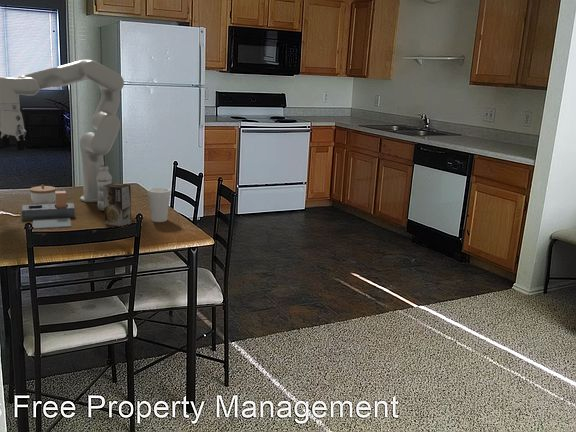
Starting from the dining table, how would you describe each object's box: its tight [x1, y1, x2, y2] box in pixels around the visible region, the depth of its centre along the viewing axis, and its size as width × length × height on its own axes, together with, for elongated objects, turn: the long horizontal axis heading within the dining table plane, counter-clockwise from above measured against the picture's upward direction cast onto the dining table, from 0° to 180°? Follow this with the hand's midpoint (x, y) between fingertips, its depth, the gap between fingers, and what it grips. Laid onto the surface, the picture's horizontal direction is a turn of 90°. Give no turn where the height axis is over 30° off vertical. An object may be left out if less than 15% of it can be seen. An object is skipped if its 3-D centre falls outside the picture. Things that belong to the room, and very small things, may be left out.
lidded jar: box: [29, 184, 57, 205], centre depth 254 cm, size 11×11×9 cm
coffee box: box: [103, 182, 132, 227], centre depth 231 cm, size 9×6×16 cm
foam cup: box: [146, 187, 172, 223], centre depth 240 cm, size 10×9×13 cm
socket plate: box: [21, 202, 76, 221], centre depth 239 cm, size 20×9×4 cm, turn 112°
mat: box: [32, 217, 72, 230], centre depth 228 cm, size 14×12×1 cm
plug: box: [55, 190, 67, 208], centre depth 240 cm, size 4×4×10 cm
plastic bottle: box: [96, 164, 113, 212], centre depth 249 cm, size 6×7×20 cm
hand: (13, 148), depth 242 cm, fingers open, 9 cm apart
